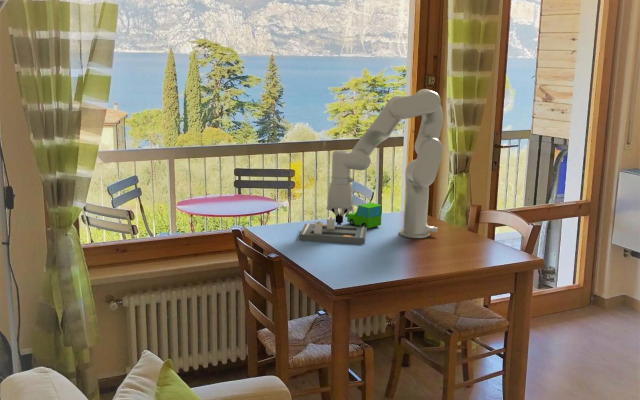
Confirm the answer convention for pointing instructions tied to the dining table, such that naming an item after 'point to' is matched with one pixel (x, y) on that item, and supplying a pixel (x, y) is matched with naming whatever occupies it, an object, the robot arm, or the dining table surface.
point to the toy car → (366, 215)
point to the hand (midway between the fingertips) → (339, 224)
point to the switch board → (335, 234)
